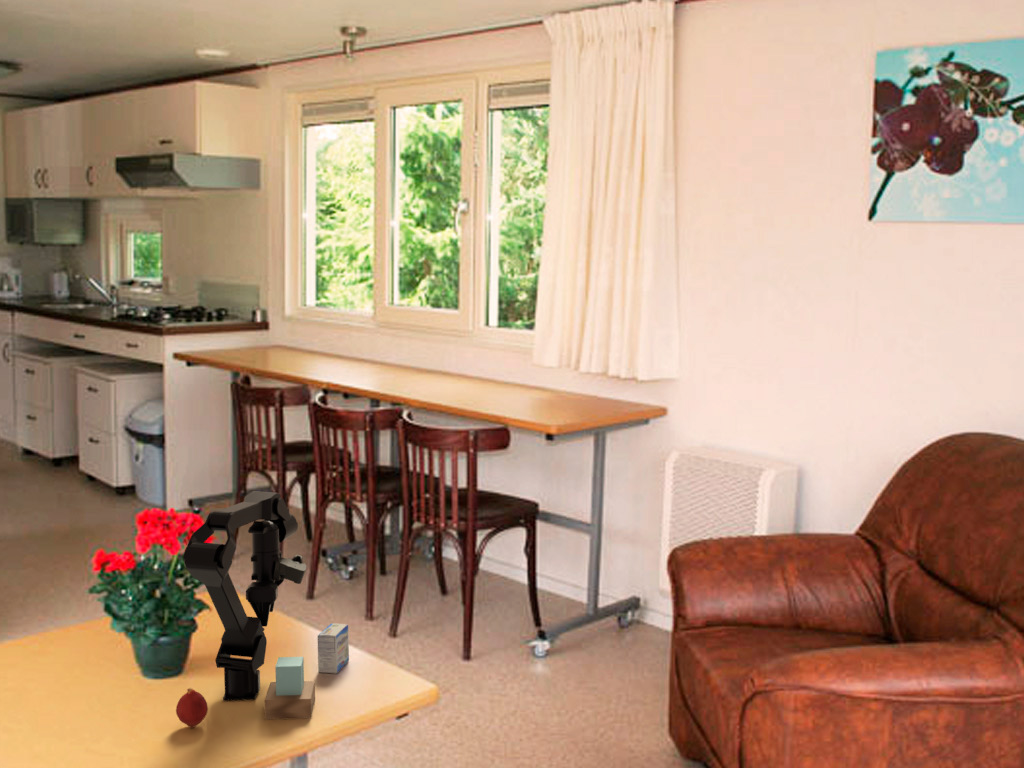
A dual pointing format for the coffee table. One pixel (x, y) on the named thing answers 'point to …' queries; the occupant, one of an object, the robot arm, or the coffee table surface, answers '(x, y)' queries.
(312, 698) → the walnut stand
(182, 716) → the onion
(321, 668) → the medicine box
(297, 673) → the teal block
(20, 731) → the coffee table surface
